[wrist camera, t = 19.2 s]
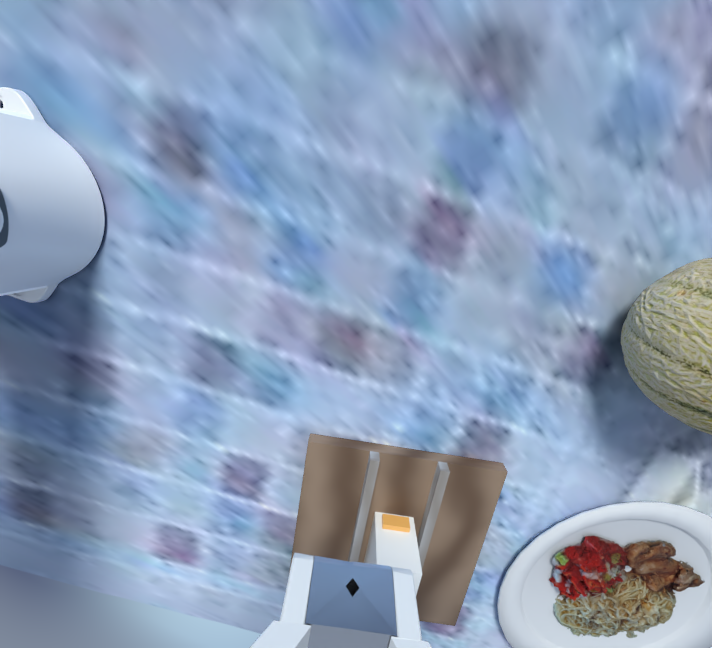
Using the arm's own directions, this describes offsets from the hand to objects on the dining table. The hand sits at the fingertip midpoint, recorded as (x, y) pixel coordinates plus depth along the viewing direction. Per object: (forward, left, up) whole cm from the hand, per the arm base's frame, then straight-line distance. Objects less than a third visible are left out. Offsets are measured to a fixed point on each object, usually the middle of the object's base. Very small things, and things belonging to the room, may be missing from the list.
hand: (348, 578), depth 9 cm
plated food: (+38, -32, -30) cm, 58 cm away
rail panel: (+8, -28, -29) cm, 41 cm away
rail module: (+8, -28, -28) cm, 40 cm away
